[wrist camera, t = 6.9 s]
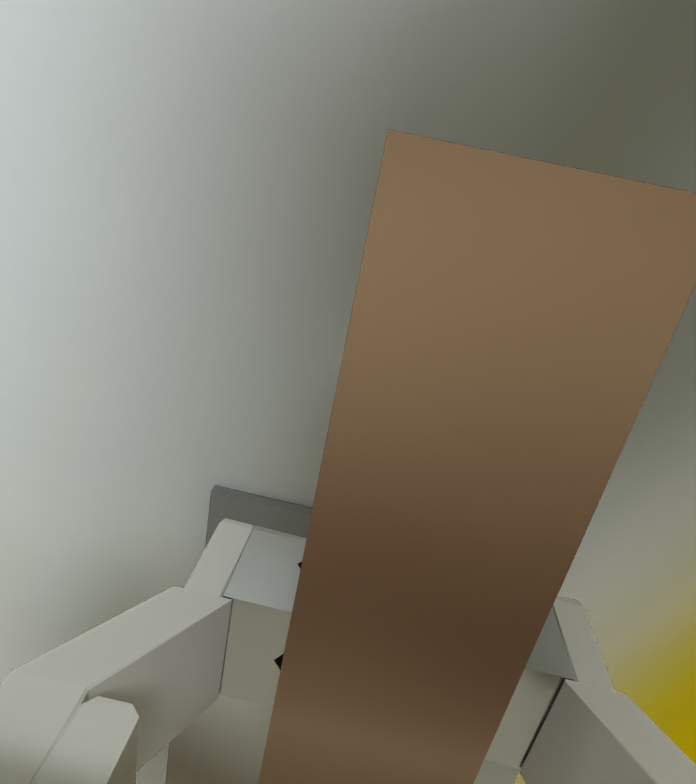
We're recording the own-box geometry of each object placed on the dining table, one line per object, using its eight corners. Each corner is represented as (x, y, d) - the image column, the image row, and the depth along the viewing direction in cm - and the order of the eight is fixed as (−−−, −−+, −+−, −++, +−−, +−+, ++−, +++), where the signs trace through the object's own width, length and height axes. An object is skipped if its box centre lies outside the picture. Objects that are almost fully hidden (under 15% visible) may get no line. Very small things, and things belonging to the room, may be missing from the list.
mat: (214, 485, 26) (211, 491, 25) (516, 556, 25) (517, 563, 25) (187, 737, 33) (184, 745, 33) (420, 795, 33) (420, 804, 32)
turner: (251, 109, 8) (106, 71, 4) (745, 211, 8) (1035, 263, 4) (171, 844, 15) (92, 1062, 12) (427, 909, 15) (429, 1153, 11)
